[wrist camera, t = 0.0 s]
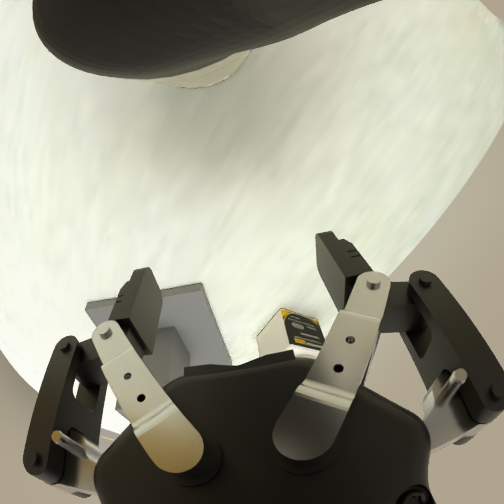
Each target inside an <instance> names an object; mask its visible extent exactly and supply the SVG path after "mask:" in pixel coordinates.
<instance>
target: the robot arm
mask: <svg viewBox="0 0 504 504" xmlns="http://www.w3.org/2000/svg"><path fill="white" fill-rule="evenodd" d="M378 1H381V0H33V21H34V25H35V29H36V31H37V34H38V36H39V38H40V40H41V41H42V43H43V44H44V46H45V47H46V48H47V49H48V50H49V51H50V52H51V53H52V54H53V55H54V56H55V57H57V58H58V59H59V60H61V61H62V62H64V63H66V64H68V65H70V66H72V67H74V68H76V69H79V70H82V71H85V72H88V73H92V74H96V75H101V76H108V77H116V78H126V79H135V80H143V81H151V82H158V83H164V84H170V85H176V86H181V87H183V88H203V87H209V86H212V85H215V84H218V83H220V82H222V81H224V80H226V79H227V78H228V77H230V76H231V75H232V74H233V73H235V71H236V70H237V69H238V68H239V67H240V66H241V64H242V63H243V62H244V60H245V59H246V57H247V56H248V54H249V53H250V52H251V50H252V49H255V48H259V47H262V46H266V45H269V44H273V43H276V42H279V41H283V40H285V39H288V38H291V37H294V36H296V35H298V34H300V33H303V32H305V31H307V30H309V29H311V28H313V27H315V26H318V25H320V24H322V23H324V22H326V21H328V20H331V19H333V18H335V17H338V16H340V15H343V14H345V13H348V12H350V11H353V10H355V9H358V8H361V7H364V6H366V5H369V4H372V3H375V2H378ZM315 239H316V257H317V267H318V271H319V274H320V276H321V278H322V280H323V282H324V284H325V286H326V288H327V290H328V292H329V294H330V296H331V298H332V300H333V302H334V304H335V306H336V308H337V310H338V314H337V317H336V319H335V321H334V323H333V325H332V327H331V329H330V331H329V334H328V336H327V338H326V340H325V342H324V344H323V346H322V348H321V350H320V352H319V354H318V356H317V358H316V360H315V359H312V358H307V357H295V354H294V351H293V349H291V350H287V351H282V352H277V353H272V354H267V355H264V356H262V357H259V358H257V359H254V360H252V361H249V362H247V363H244V364H241V365H238V366H232V365H217V364H206V365H198V366H189V367H184V375H183V376H180V377H178V378H176V379H174V380H172V381H171V382H169V383H168V384H166V385H165V386H164V387H162V386H161V385H160V384H159V382H158V381H157V380H156V378H155V377H154V376H153V374H152V373H151V371H150V370H149V369H148V367H147V366H146V365H145V363H144V362H143V356H144V355H153V349H154V344H155V339H156V334H157V329H158V324H159V319H160V314H161V310H162V305H163V298H162V293H161V291H160V289H159V286H158V284H157V282H156V280H155V277H154V275H153V273H152V270H151V269H150V268H149V267H146V268H142V269H137V270H134V272H133V274H132V276H131V279H130V281H127V282H126V283H125V285H124V286H123V287H122V288H121V290H120V292H119V294H118V297H117V299H116V303H115V304H114V306H113V309H112V311H111V314H110V317H109V319H108V321H106V322H103V323H101V324H100V325H99V326H97V327H96V329H95V330H94V331H93V333H92V338H91V339H88V340H85V341H83V342H80V343H79V341H78V340H77V339H76V337H74V336H66V337H64V338H63V339H61V340H60V341H59V342H58V343H57V345H56V346H55V348H54V351H53V354H52V356H51V359H50V361H49V364H48V367H47V370H46V373H45V375H44V378H43V381H42V384H41V387H40V391H39V394H38V398H37V401H36V404H35V407H34V411H33V415H32V418H31V422H30V426H29V431H28V435H27V440H26V444H25V449H24V455H23V464H24V467H25V469H26V471H27V472H28V473H29V474H31V475H33V476H35V477H37V478H38V479H41V480H43V481H44V482H45V483H47V484H49V485H51V486H53V487H55V488H57V489H60V490H62V491H64V492H67V493H71V494H74V495H76V496H78V497H81V498H87V497H90V496H91V495H95V496H98V497H99V499H100V502H101V504H436V502H435V500H434V498H433V496H432V494H431V492H430V489H429V484H428V464H429V457H430V454H432V453H434V452H436V451H438V450H440V449H443V448H445V447H446V446H448V445H450V444H452V443H453V444H455V445H461V444H464V443H466V442H468V441H469V440H470V439H471V438H473V437H474V436H475V435H476V434H478V433H479V432H480V431H481V430H483V429H484V428H485V427H486V426H487V425H488V424H489V423H491V422H492V421H493V420H494V419H495V418H496V417H497V416H498V415H499V414H500V413H501V412H503V410H504V371H503V369H502V367H501V366H500V364H499V362H498V361H497V359H496V357H495V355H494V354H493V352H492V351H491V349H490V348H489V346H488V345H487V343H486V341H485V340H484V339H483V337H482V335H481V334H480V333H479V331H478V329H477V328H476V327H475V325H474V324H473V322H472V321H471V319H470V318H469V317H468V315H467V314H466V313H465V311H464V310H463V309H462V307H461V306H460V305H459V303H458V302H457V301H456V299H455V298H454V297H453V296H452V294H451V293H450V292H449V290H448V289H447V288H446V287H445V285H444V284H443V283H442V282H441V281H440V279H439V278H438V277H437V276H436V275H435V274H433V273H431V272H428V271H423V270H421V271H416V272H414V273H412V274H411V275H410V277H409V282H390V279H389V278H388V277H387V276H386V275H384V274H383V273H380V272H375V271H373V270H372V269H371V267H370V266H369V265H368V263H367V262H366V261H365V259H364V258H363V257H362V256H361V254H360V253H359V252H358V251H357V249H356V248H355V247H354V245H353V244H352V243H350V242H348V241H347V240H345V239H341V240H338V239H337V237H336V236H335V235H334V233H333V232H332V231H328V232H323V233H318V234H316V237H315ZM392 332H399V333H400V335H401V337H402V339H403V341H404V343H405V345H406V347H407V349H408V351H409V353H410V355H411V356H412V359H413V361H414V363H415V365H416V367H417V369H418V371H419V373H420V375H421V378H422V380H423V382H424V384H425V386H426V389H427V391H428V392H427V393H426V395H425V396H424V399H423V403H422V407H423V411H424V419H423V421H422V420H421V419H420V418H419V417H418V416H417V415H416V414H414V413H412V412H410V411H409V410H407V409H405V408H403V407H401V406H399V405H397V404H396V403H394V402H392V401H390V400H388V399H386V398H385V397H383V396H381V395H379V394H377V393H376V392H374V391H372V390H370V389H368V388H366V387H365V386H364V384H365V382H366V379H367V375H368V373H369V369H370V366H371V363H372V360H373V357H374V354H375V351H376V348H377V344H378V341H379V338H380V334H381V333H392ZM75 378H76V379H77V380H78V381H79V382H80V383H79V387H78V391H77V395H76V399H75V397H74V395H73V385H74V381H75ZM108 383H109V385H110V387H111V389H112V391H113V393H114V395H115V396H116V398H117V400H118V402H119V404H120V406H121V407H122V409H123V411H124V413H125V414H126V416H127V418H128V419H129V421H130V425H129V426H128V427H127V428H126V429H125V430H124V431H123V432H122V433H121V435H120V436H119V437H118V438H117V439H116V440H115V441H114V442H113V444H111V446H110V447H109V448H108V449H107V450H106V451H105V452H104V453H103V454H102V452H101V450H100V448H99V447H98V444H99V436H100V428H101V420H102V414H103V407H104V401H105V396H106V390H107V385H108Z"/></svg>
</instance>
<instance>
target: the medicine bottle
mask: <svg viewBox="0 0 504 504" xmlns="http://www.w3.org/2000/svg"><path fill="white" fill-rule="evenodd" d="M324 342H325V339H324V336H323V334H322V331H321V328H320V326H319V323H318V321H317V320H315V319H312V318H309V317H306V316H303V315H300V314H297V313H294V312H291V311H288V310H285V309H280V310H279V311H278V312H277V314H276V315H275V316H274V317H273V318H272V320H271V321H270V322H269V323H268V324H267V326H266V327H265V328H264V329H263V330H262V332H261V333H260V334H259V335H258V336H257V344H258V351H259V357H262V356H264V355H267V354H272V353H277V352H282V351H287V350H291V349H293V351H294V354H295V357H307V358H312V359H315V360H316V358H317V356H318V354H319V352H320V350H321V348H322V346H323V344H324Z"/></svg>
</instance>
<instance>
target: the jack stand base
mask: <svg viewBox="0 0 504 504" xmlns="http://www.w3.org/2000/svg"><path fill="white" fill-rule="evenodd" d="M160 291H161V293H162V298H163V305H162V310H161V314H160V319H159V324H158V329H157V334H156V339H155V344H154V349H153V355H144V356H143V362H144V363H145V365H146V366H147V367H148V369H149V370H150V371H151V373H152V374H153V376H154V377H155V378H156V380H157V381H158V382H159V384H160V385H161V386H162V387H164V386H165V385H166V384H168V383H169V382H171V381H172V380H174V379H176V378H178V377H180V376H183V375H184V367H189V366H198V365H206V364H217V365H232V361H231V359H230V356H229V354H228V351H227V349H226V346H225V344H224V341H223V339H222V336H221V334H220V331H219V329H218V326H217V323H216V321H215V318H214V316H213V313H212V310H211V308H210V305H209V302H208V299H207V297H206V294H205V291H204V289H203V286H202V283H198V284H193V285H188V286H182V287H177V288H171V289H166V290H160ZM116 299H117V298H114V299H108V300H102V301H96V302H90V303H88V304H87V306H86V308H85V311H86V313H87V314H88V315H89V317H90V318H91V320H92V321H93V323H94V324H95V326H96V327H97V326H99V325H100V324H101V323H103V322H106V321H108V319H109V317H110V314H111V311H112V309H113V306H114V304H115V303H116ZM115 410H116V411H118V412H119V413H120V414H121V415H122V416H124V417H125V418H126V419H127V420H129V419H128V418H127V416H126V414H125V413H124V411H123V409H122V407H121V406H120V404H119V402H118V400H117V402H116V408H115Z"/></svg>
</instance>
